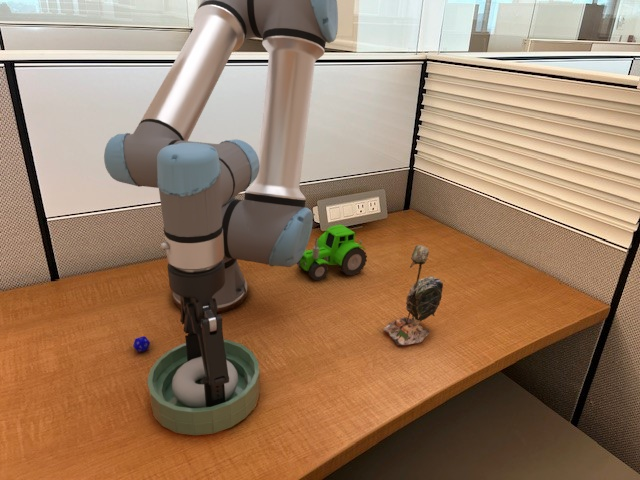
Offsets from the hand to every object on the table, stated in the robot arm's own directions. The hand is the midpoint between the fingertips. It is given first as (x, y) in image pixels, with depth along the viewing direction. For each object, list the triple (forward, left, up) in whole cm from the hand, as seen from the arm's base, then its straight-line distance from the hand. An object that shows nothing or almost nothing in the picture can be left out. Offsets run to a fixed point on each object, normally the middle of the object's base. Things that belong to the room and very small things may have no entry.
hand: (206, 388), depth 74 cm
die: (-16, -7, -2) cm, 18 cm away
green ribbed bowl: (0, 0, -2) cm, 2 cm away
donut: (0, 0, 0) cm, 0 cm away
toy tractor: (-29, +38, -2) cm, 48 cm away
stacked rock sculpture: (0, +40, -2) cm, 40 cm away
